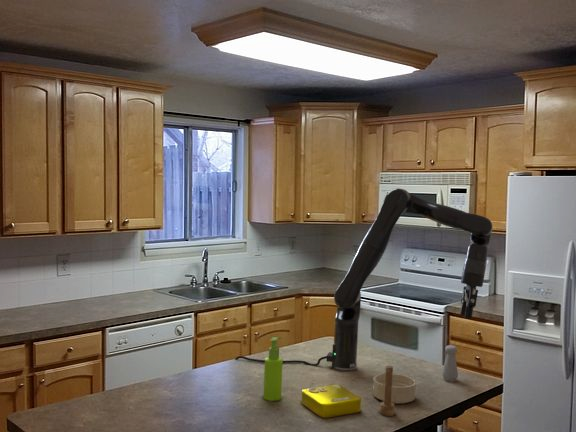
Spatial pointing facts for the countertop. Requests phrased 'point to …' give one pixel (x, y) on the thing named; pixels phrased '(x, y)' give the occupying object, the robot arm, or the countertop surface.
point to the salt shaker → (450, 364)
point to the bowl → (395, 388)
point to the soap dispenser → (273, 373)
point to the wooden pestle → (387, 394)
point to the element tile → (331, 401)
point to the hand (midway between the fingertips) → (465, 316)
